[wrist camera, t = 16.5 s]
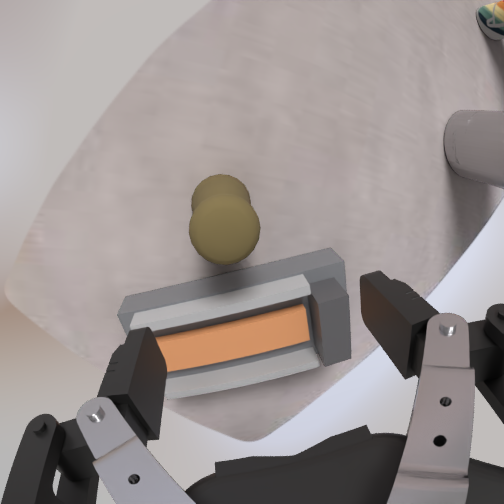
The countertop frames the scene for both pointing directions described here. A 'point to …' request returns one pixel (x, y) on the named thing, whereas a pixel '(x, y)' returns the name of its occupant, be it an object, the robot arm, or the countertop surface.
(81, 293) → the countertop surface
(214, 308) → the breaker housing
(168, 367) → the lever
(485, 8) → the lotion bottle
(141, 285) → the countertop surface
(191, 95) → the countertop surface
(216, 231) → the olive pawn figure
